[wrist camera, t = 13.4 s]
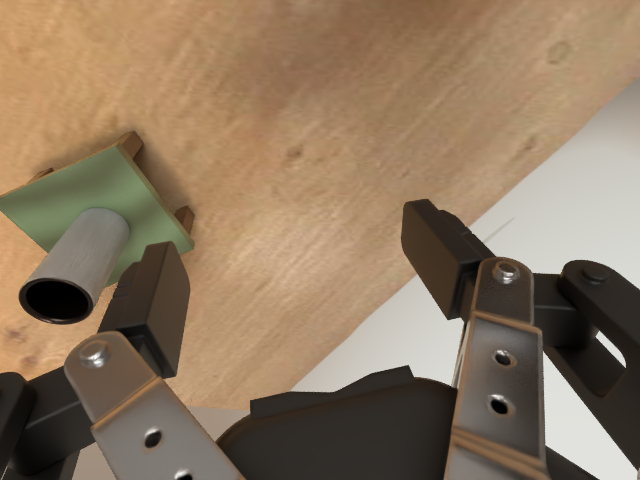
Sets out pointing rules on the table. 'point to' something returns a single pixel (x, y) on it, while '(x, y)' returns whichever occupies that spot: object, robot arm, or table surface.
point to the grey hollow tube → (76, 268)
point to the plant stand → (99, 203)
